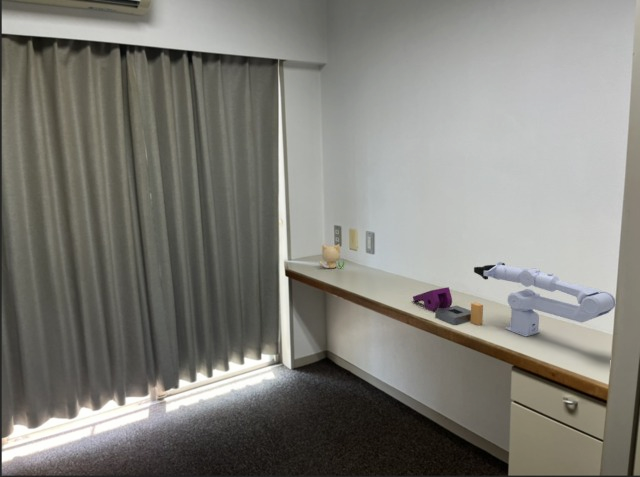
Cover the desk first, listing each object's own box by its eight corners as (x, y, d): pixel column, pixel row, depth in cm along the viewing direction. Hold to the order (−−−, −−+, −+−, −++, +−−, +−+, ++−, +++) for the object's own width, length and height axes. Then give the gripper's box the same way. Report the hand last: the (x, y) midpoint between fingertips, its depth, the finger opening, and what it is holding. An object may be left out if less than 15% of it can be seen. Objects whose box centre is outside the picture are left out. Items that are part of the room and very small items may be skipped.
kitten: (345, 266, 290) (344, 242, 287) (343, 270, 280) (343, 245, 278) (321, 266, 292) (320, 242, 289) (319, 269, 282) (318, 245, 279)
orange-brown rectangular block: (482, 324, 187) (483, 304, 186) (478, 325, 186) (478, 305, 185) (474, 321, 191) (475, 302, 189) (470, 322, 190) (471, 303, 188)
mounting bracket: (413, 315, 216) (437, 309, 200) (408, 297, 218) (431, 290, 202) (429, 312, 220) (454, 305, 205) (425, 294, 222) (448, 287, 206)
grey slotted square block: (476, 319, 192) (476, 312, 192) (454, 325, 187) (454, 317, 186) (456, 312, 202) (456, 305, 201) (435, 317, 196) (435, 310, 196)
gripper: (521, 261, 184) (493, 257, 196) (497, 265, 177) (468, 260, 188) (521, 279, 185) (492, 274, 197) (496, 283, 178) (468, 278, 189)
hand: (481, 268), depth 193 cm, fingers open, 7 cm apart
